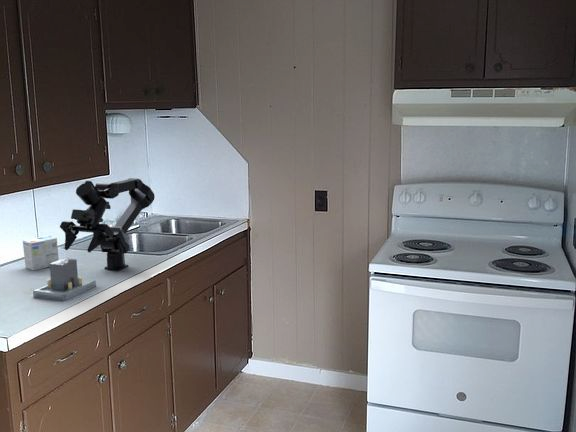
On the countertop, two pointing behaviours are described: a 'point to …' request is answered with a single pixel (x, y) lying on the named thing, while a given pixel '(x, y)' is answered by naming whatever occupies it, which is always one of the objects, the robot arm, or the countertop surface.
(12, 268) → the countertop surface
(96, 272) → the countertop surface
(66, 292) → the dock
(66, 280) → the block
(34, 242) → the light bulb box
